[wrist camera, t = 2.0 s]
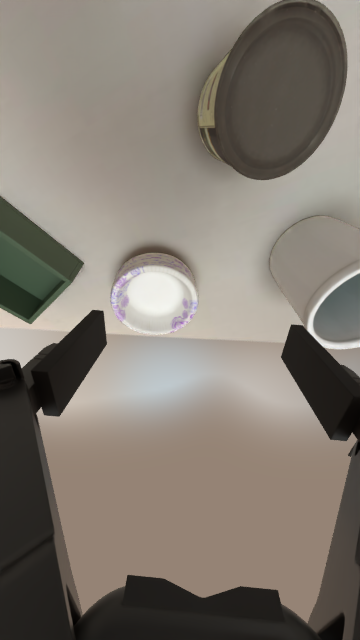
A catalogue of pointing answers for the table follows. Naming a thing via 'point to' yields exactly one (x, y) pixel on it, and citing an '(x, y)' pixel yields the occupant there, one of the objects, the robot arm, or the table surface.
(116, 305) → the paper bowls
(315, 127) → the coffee can
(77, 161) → the table surface
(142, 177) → the table surface
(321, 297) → the utensil holder
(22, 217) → the tote
